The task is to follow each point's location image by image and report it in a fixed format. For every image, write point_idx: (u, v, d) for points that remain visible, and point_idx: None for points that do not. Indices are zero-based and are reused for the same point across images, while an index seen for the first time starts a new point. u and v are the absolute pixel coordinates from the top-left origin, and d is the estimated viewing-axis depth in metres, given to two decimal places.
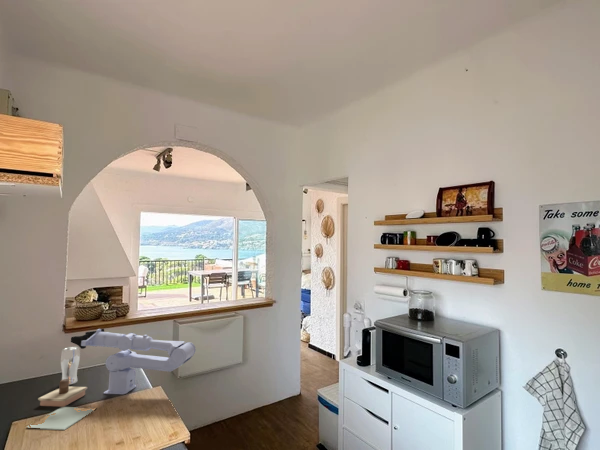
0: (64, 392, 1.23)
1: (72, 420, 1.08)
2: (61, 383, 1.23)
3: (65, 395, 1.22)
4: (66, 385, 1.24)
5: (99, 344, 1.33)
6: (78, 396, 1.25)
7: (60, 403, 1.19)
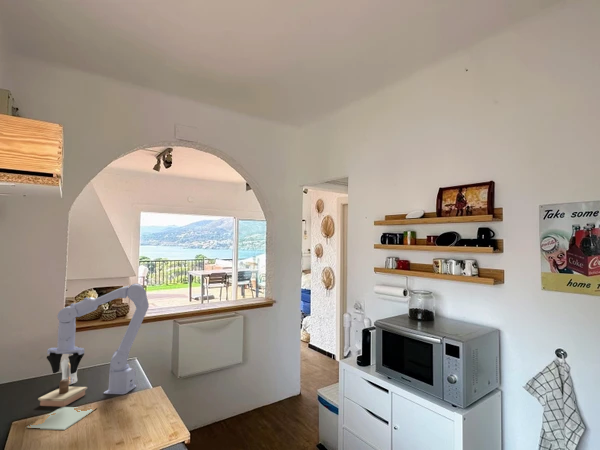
0: (64, 392, 1.23)
1: (72, 420, 1.08)
2: (61, 383, 1.23)
3: (65, 395, 1.22)
4: (66, 385, 1.24)
5: (74, 341, 1.27)
6: (78, 396, 1.25)
7: (60, 403, 1.19)
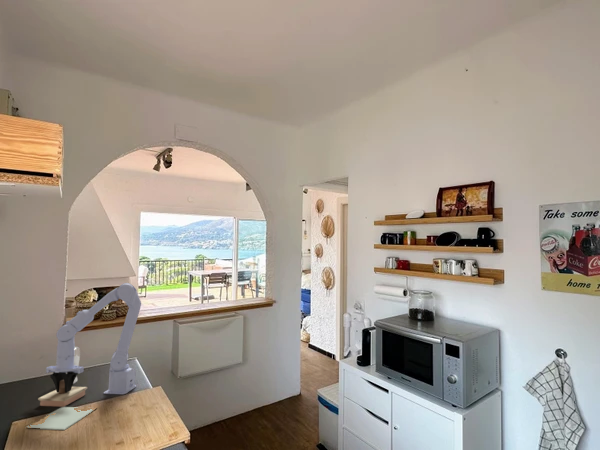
0: (64, 392, 1.23)
1: (72, 420, 1.08)
2: (61, 383, 1.23)
3: (65, 395, 1.22)
4: None
5: (73, 359, 1.27)
6: (78, 396, 1.25)
7: (60, 403, 1.19)
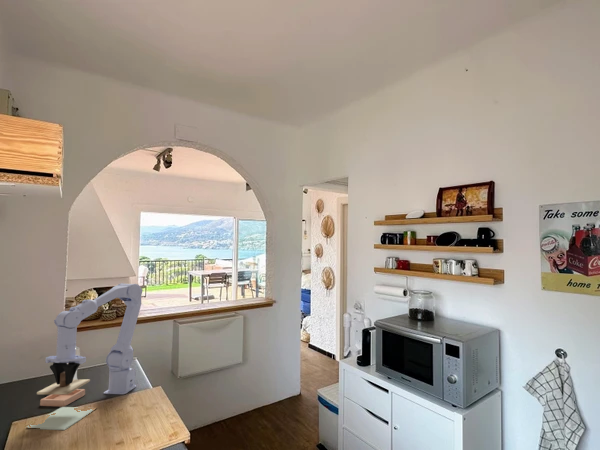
0: (65, 385, 1.13)
1: (72, 420, 1.08)
2: (62, 375, 1.13)
3: (68, 388, 1.12)
4: None
5: (75, 349, 1.16)
6: (78, 396, 1.25)
7: (60, 403, 1.19)
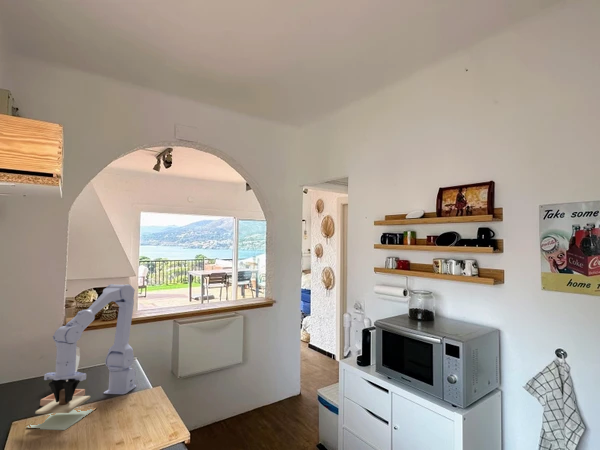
0: (65, 403, 1.10)
1: (72, 420, 1.08)
2: (62, 393, 1.09)
3: (67, 406, 1.08)
4: None
5: (75, 365, 1.13)
6: None
7: None
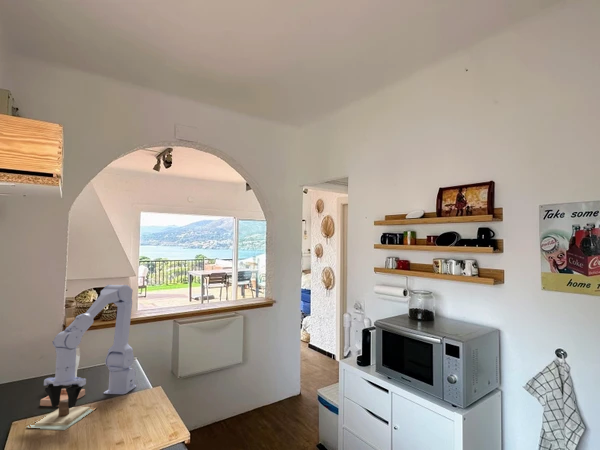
0: (65, 414, 1.09)
1: None
2: (61, 404, 1.09)
3: (67, 417, 1.08)
4: (67, 406, 1.10)
5: None
6: (78, 396, 1.25)
7: None
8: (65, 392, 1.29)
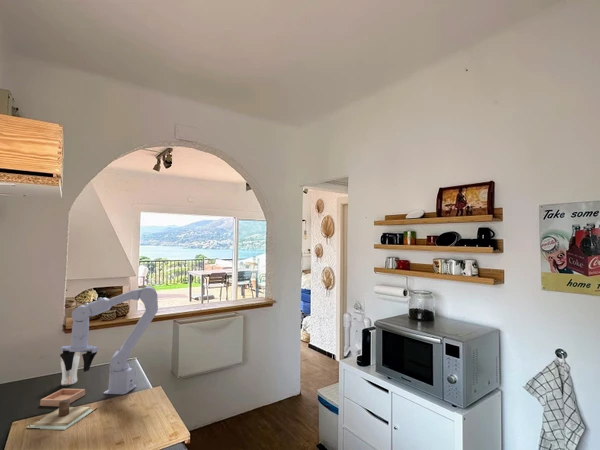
0: (65, 414, 1.09)
1: None
2: (61, 404, 1.09)
3: (67, 417, 1.08)
4: (67, 406, 1.10)
5: (87, 339, 1.30)
6: (78, 396, 1.25)
7: None
8: (65, 392, 1.29)
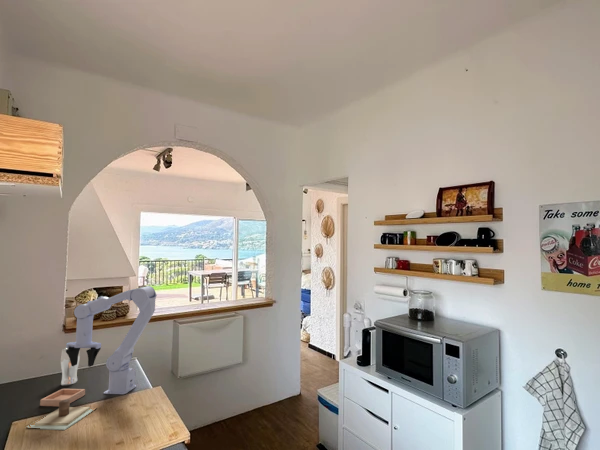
0: (65, 414, 1.09)
1: None
2: (61, 404, 1.09)
3: (67, 417, 1.08)
4: (67, 406, 1.10)
5: (91, 336, 1.35)
6: (78, 396, 1.25)
7: None
8: (65, 392, 1.29)
